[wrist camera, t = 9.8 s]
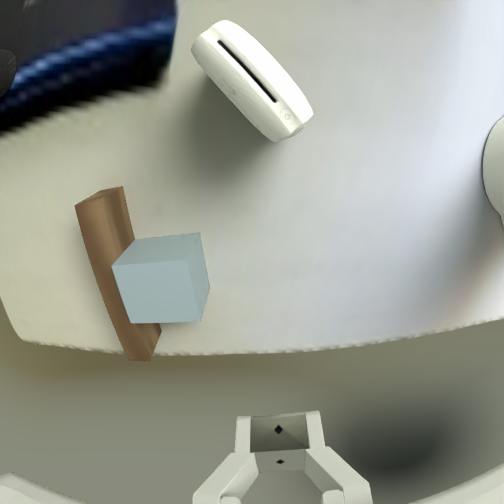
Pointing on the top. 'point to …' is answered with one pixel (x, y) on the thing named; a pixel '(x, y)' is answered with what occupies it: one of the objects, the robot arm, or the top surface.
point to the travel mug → (6, 70)
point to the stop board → (103, 257)
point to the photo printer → (252, 80)
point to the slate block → (163, 279)
